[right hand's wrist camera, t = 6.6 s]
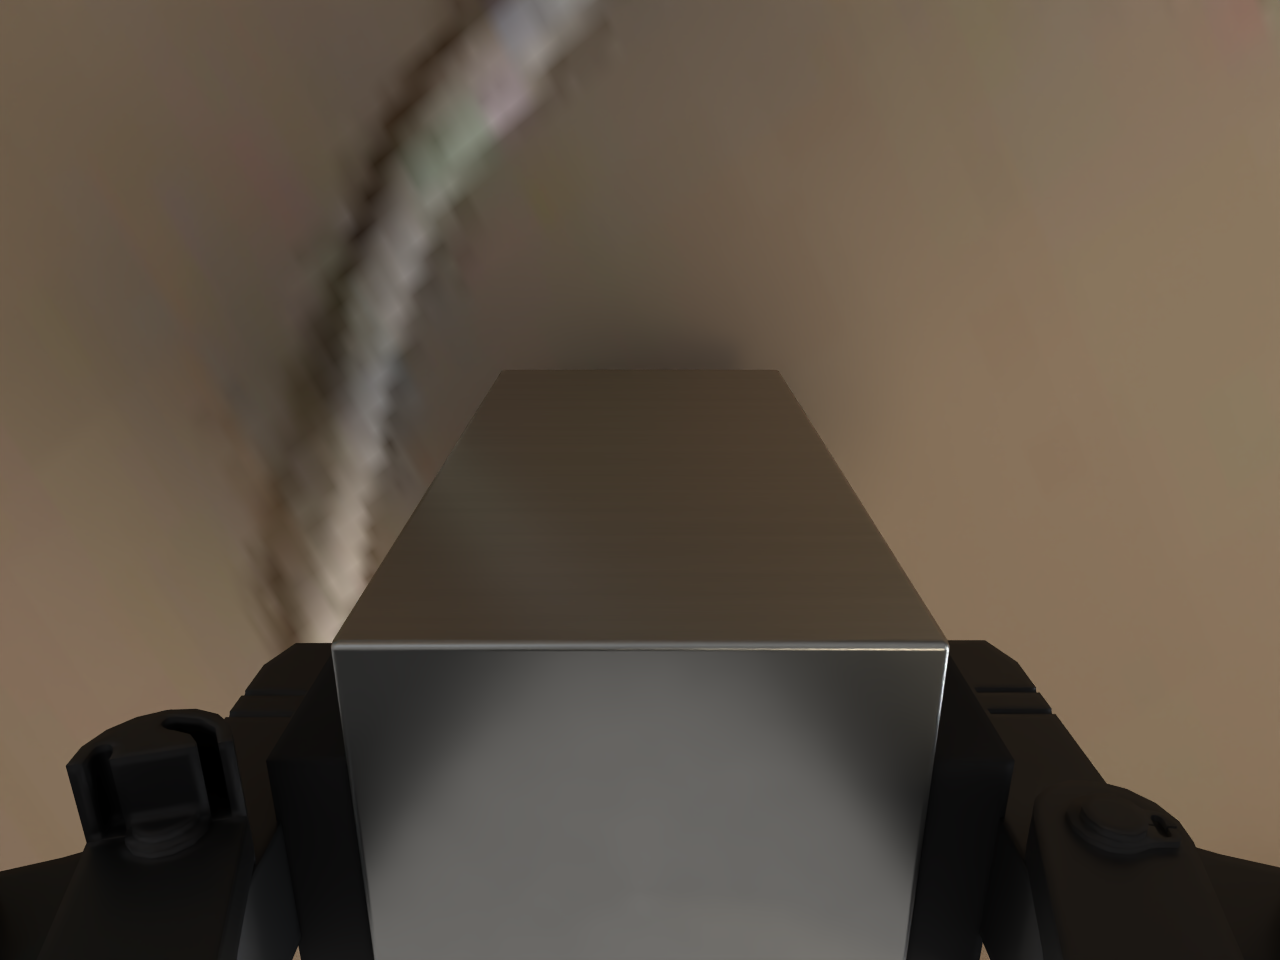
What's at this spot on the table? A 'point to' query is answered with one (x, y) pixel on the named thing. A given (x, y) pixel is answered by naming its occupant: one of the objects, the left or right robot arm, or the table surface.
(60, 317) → the table surface
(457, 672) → the silver metal block
